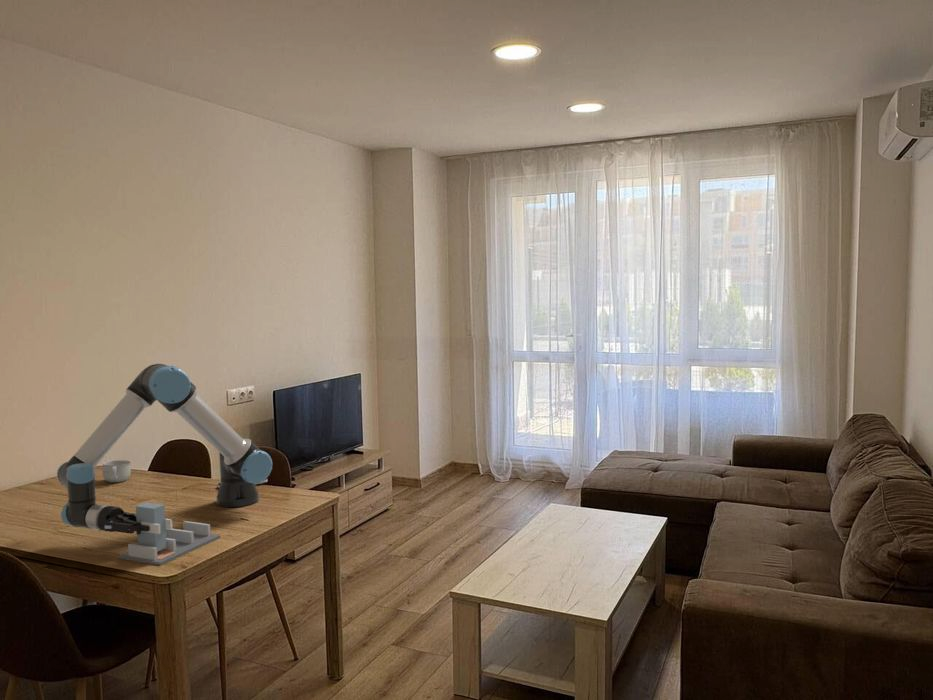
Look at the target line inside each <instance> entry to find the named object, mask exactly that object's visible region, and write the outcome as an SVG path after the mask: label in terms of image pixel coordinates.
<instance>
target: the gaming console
mask: <svg viewBox="0 0 933 700" xmlns="http://www.w3.org/2000/svg"><path fill="white" fill-rule="evenodd" d="M267 483H268V477H267V478H266V479H265V480H263V481H262V482H260V483H255V485H257V486H262V485H266V484H267ZM220 484H221V482H219V483H218V484H217V487H218V488H219V487H220Z"/></svg>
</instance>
